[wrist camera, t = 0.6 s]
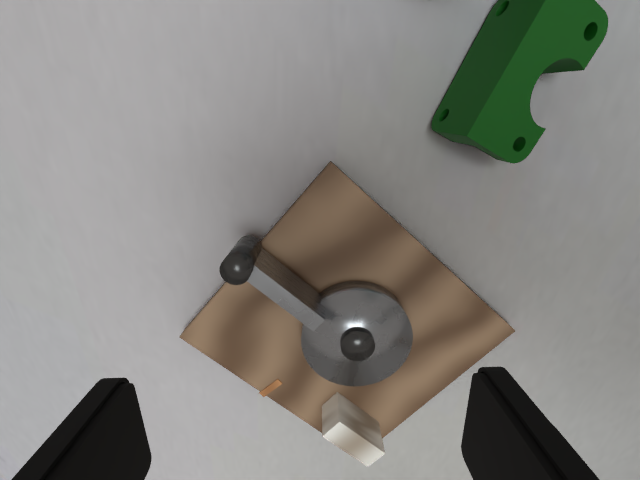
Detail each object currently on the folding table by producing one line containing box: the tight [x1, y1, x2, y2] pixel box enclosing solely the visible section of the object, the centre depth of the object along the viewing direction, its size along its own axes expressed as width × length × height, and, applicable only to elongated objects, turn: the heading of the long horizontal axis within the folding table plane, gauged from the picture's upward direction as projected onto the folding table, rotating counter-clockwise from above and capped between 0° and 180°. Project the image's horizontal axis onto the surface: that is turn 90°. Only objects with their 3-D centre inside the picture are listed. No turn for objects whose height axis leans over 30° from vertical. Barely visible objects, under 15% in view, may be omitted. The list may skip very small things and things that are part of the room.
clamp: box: [431, 0, 608, 163], centre depth 23 cm, size 11×6×8 cm, turn 149°
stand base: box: [180, 161, 515, 467], centre depth 30 cm, size 24×22×5 cm
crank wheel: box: [220, 236, 413, 386], centre depth 27 cm, size 19×10×5 cm, turn 49°
